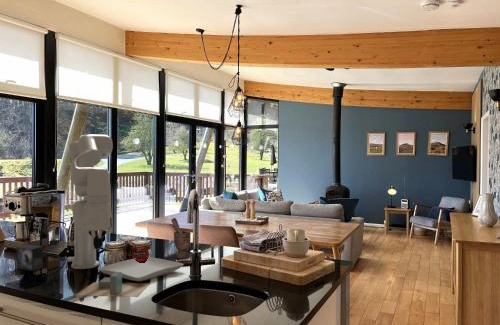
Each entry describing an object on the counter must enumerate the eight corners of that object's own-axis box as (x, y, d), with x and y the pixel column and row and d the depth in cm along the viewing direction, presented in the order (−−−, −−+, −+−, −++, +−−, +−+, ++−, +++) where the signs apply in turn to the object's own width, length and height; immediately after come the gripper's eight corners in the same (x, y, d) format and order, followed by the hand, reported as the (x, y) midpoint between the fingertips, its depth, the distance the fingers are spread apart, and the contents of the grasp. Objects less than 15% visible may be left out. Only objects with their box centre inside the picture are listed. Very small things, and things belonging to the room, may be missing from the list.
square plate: (185, 271, 190) (185, 262, 190) (138, 286, 167) (137, 277, 167) (144, 262, 205) (144, 254, 205) (96, 275, 183) (96, 267, 182)
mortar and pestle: (165, 258, 214) (165, 219, 214) (173, 254, 222) (173, 217, 222) (186, 259, 211) (186, 220, 210) (193, 255, 219) (193, 218, 219)
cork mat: (75, 296, 156) (75, 295, 156) (93, 283, 172) (93, 282, 172) (137, 298, 154) (137, 296, 154) (150, 284, 170) (150, 283, 170)
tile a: (98, 281, 164) (115, 282, 164) (104, 277, 170) (121, 277, 170) (98, 288, 164) (115, 288, 164) (104, 283, 170) (121, 283, 170)
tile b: (110, 294, 156) (109, 276, 156) (116, 289, 162) (116, 271, 162) (116, 294, 156) (116, 276, 156) (122, 289, 162) (122, 271, 162)
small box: (15, 269, 194) (15, 246, 194) (27, 265, 200) (27, 244, 200) (32, 271, 190) (31, 248, 190) (43, 268, 196) (43, 245, 196)
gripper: (74, 201, 156) (74, 250, 156) (113, 201, 155) (113, 250, 155) (83, 199, 163) (83, 246, 163) (120, 199, 162) (120, 246, 162)
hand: (98, 248), depth 159 cm, fingers closed
